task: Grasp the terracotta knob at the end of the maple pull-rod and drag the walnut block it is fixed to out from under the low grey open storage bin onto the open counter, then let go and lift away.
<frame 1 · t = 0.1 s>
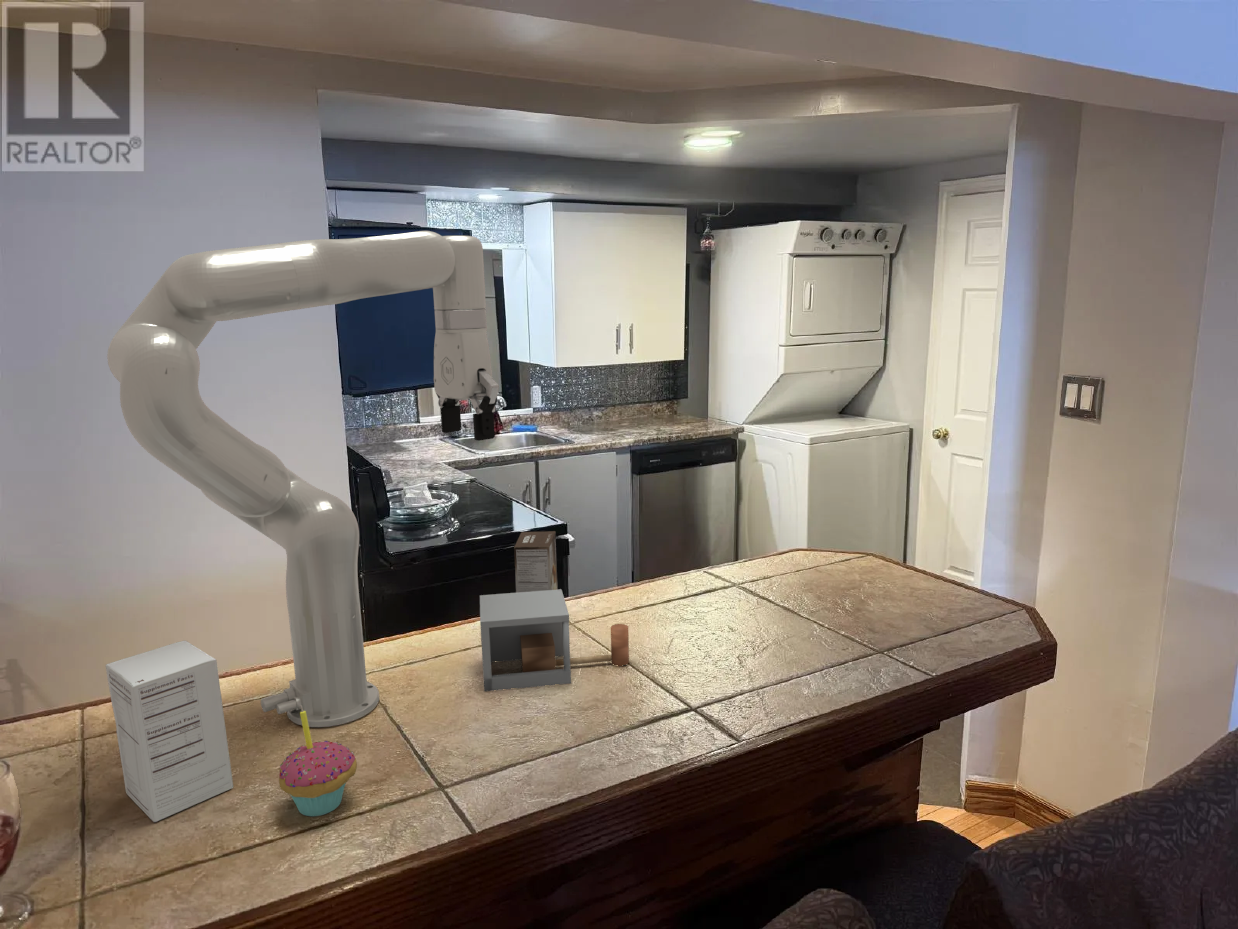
hand: (467, 435, 127), 37 cm above the counter, tool pointing down, fingers open, 9 cm apart
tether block: (538, 670, 130), on the counter
cupcake: (321, 805, 97), on the counter
supplement box: (180, 792, 100), on the counter
grey open storage bin: (525, 671, 130), on the counter
coffee box: (538, 625, 148), on the counter
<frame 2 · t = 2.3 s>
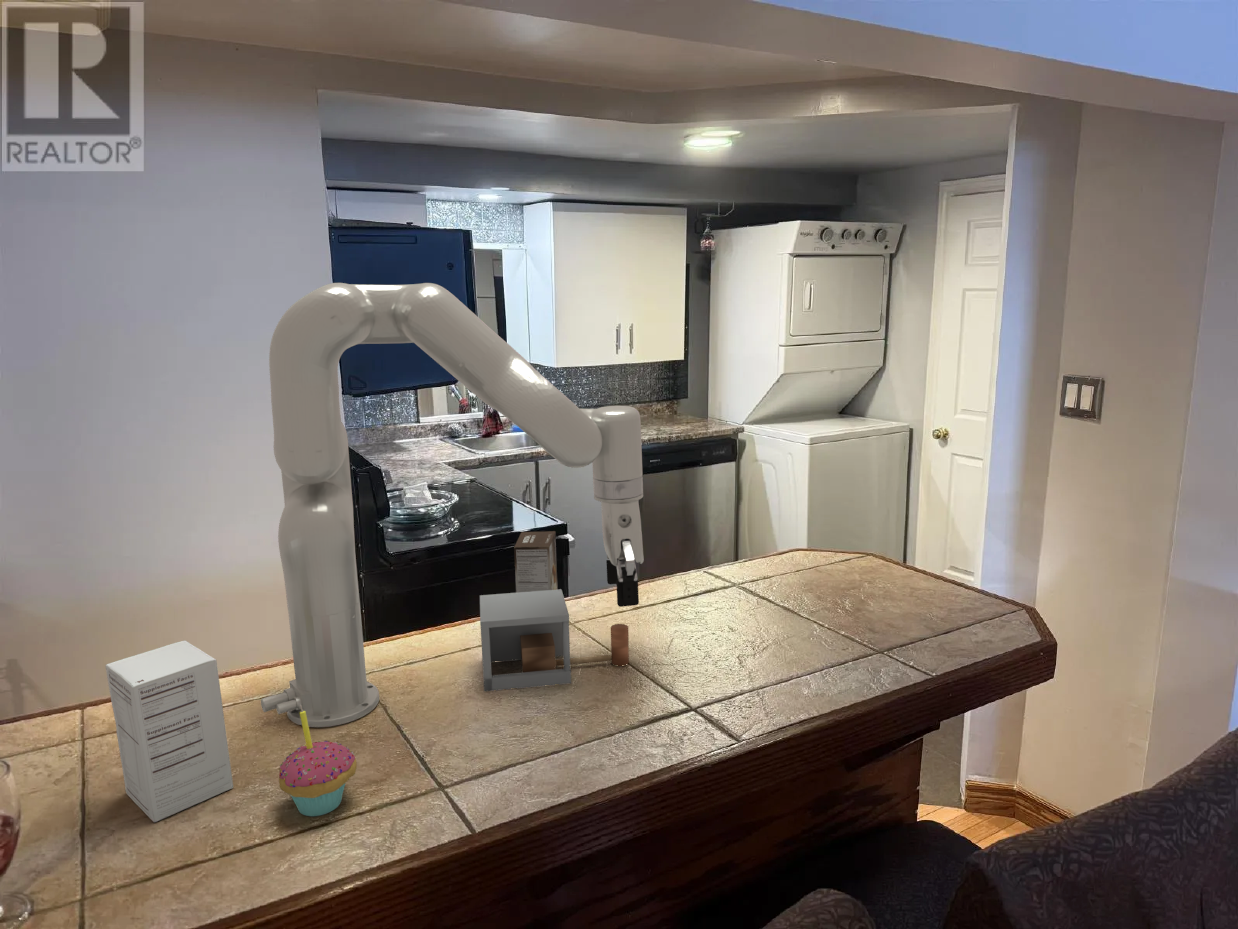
hand: (622, 593, 130), 12 cm above the counter, tool pointing down, fingers open, 9 cm apart
nothing on the counter moved.
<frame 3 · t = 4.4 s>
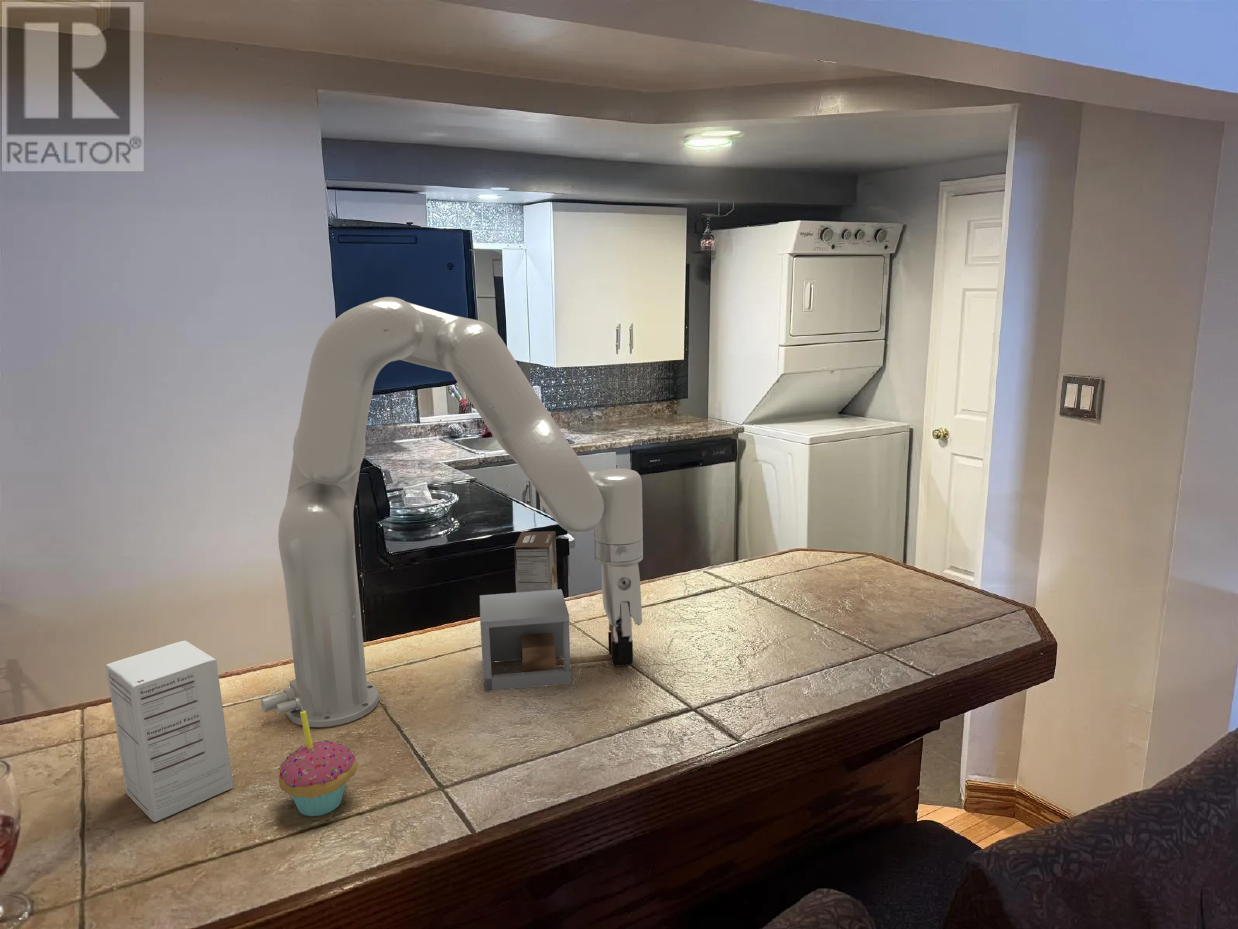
hand: (620, 658, 132), 1 cm above the counter, tool pointing down, fingers closed on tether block, 2 cm apart
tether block: (538, 670, 130), on the counter, touching gripper
everything else where it was.
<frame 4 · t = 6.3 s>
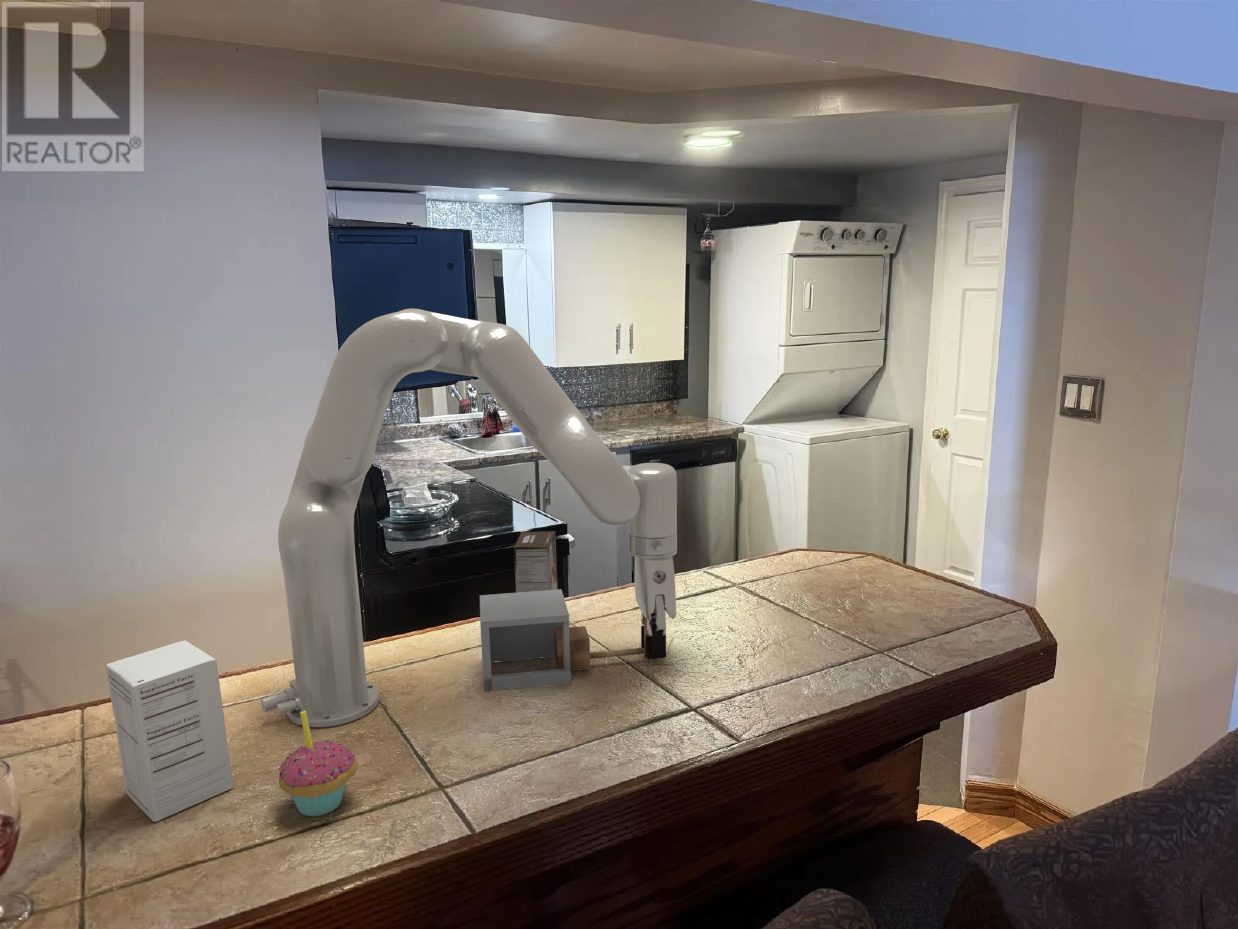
hand: (653, 652, 133), 1 cm above the counter, tool pointing down, fingers closed on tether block, 2 cm apart
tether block: (572, 663, 131), point 1 cm above the counter, touching gripper
everything else where it was.
when the fingers open (1 cm above the counter, at t = 8.5 s): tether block stays where it is, on the counter.
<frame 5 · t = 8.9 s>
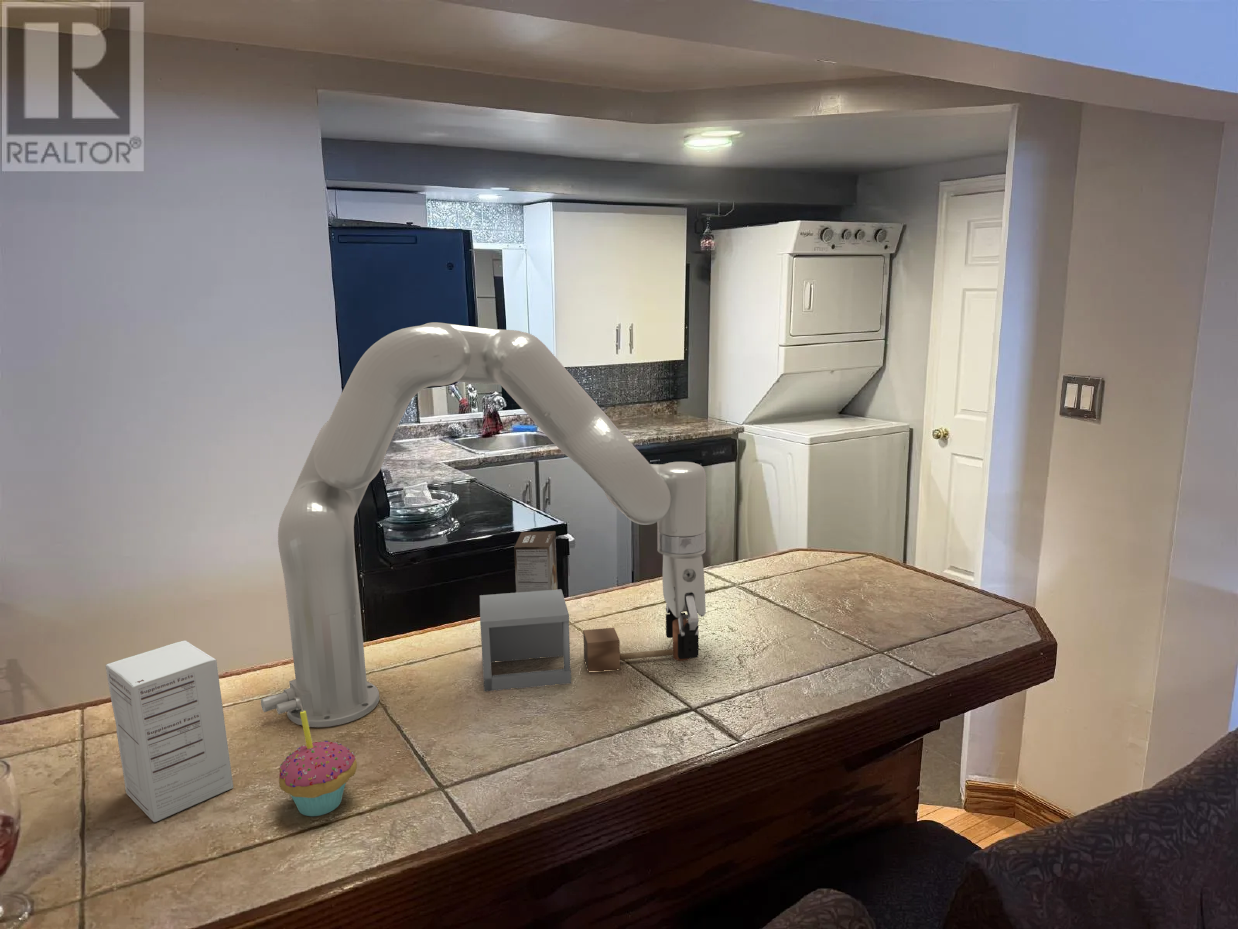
hand: (681, 646, 133), 2 cm above the counter, tool pointing down, fingers open, 7 cm apart
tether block: (601, 664, 132), on the counter
everything else where it was.
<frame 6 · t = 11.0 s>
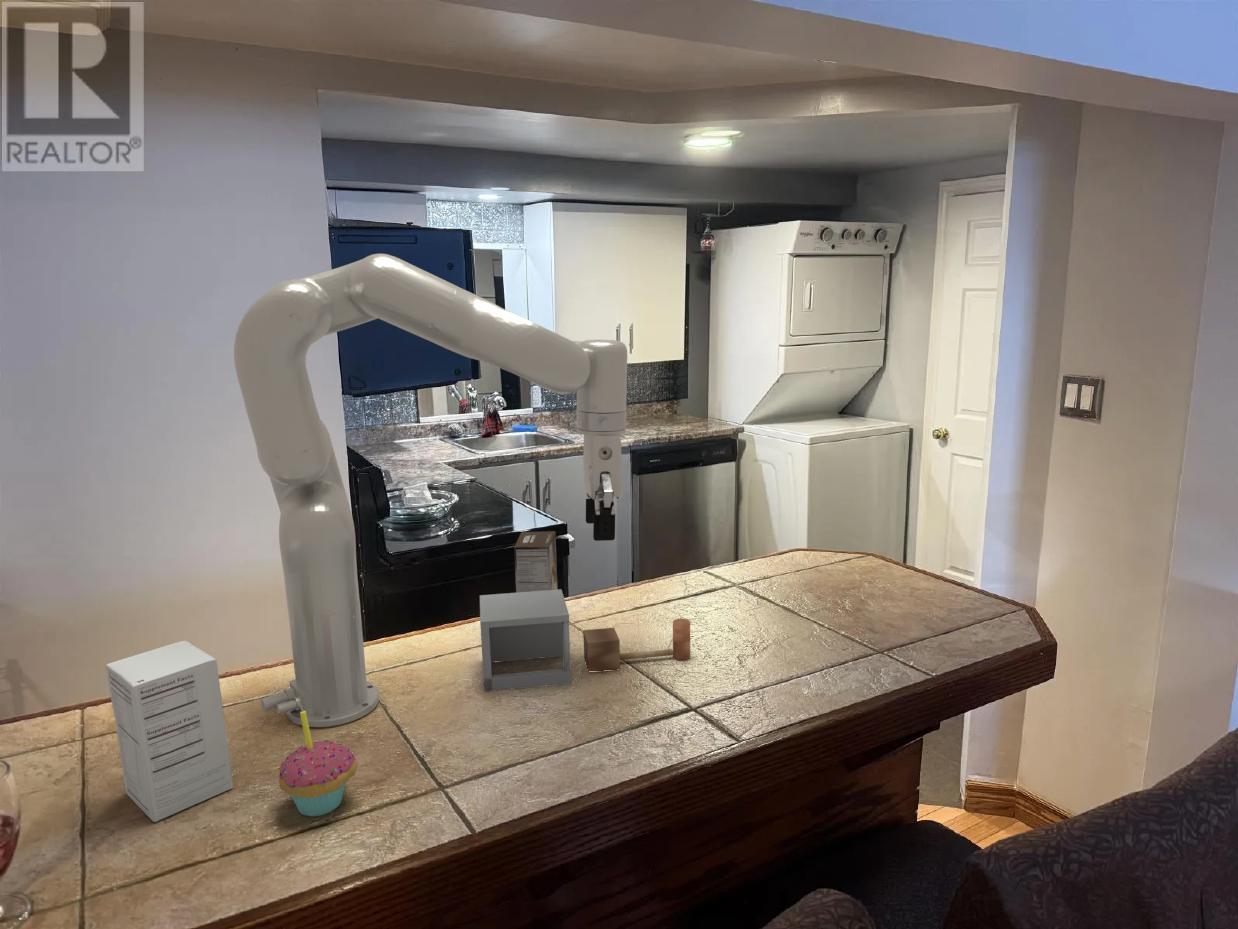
hand: (599, 531, 129), 21 cm above the counter, tool pointing down, fingers open, 9 cm apart
nothing on the counter moved.
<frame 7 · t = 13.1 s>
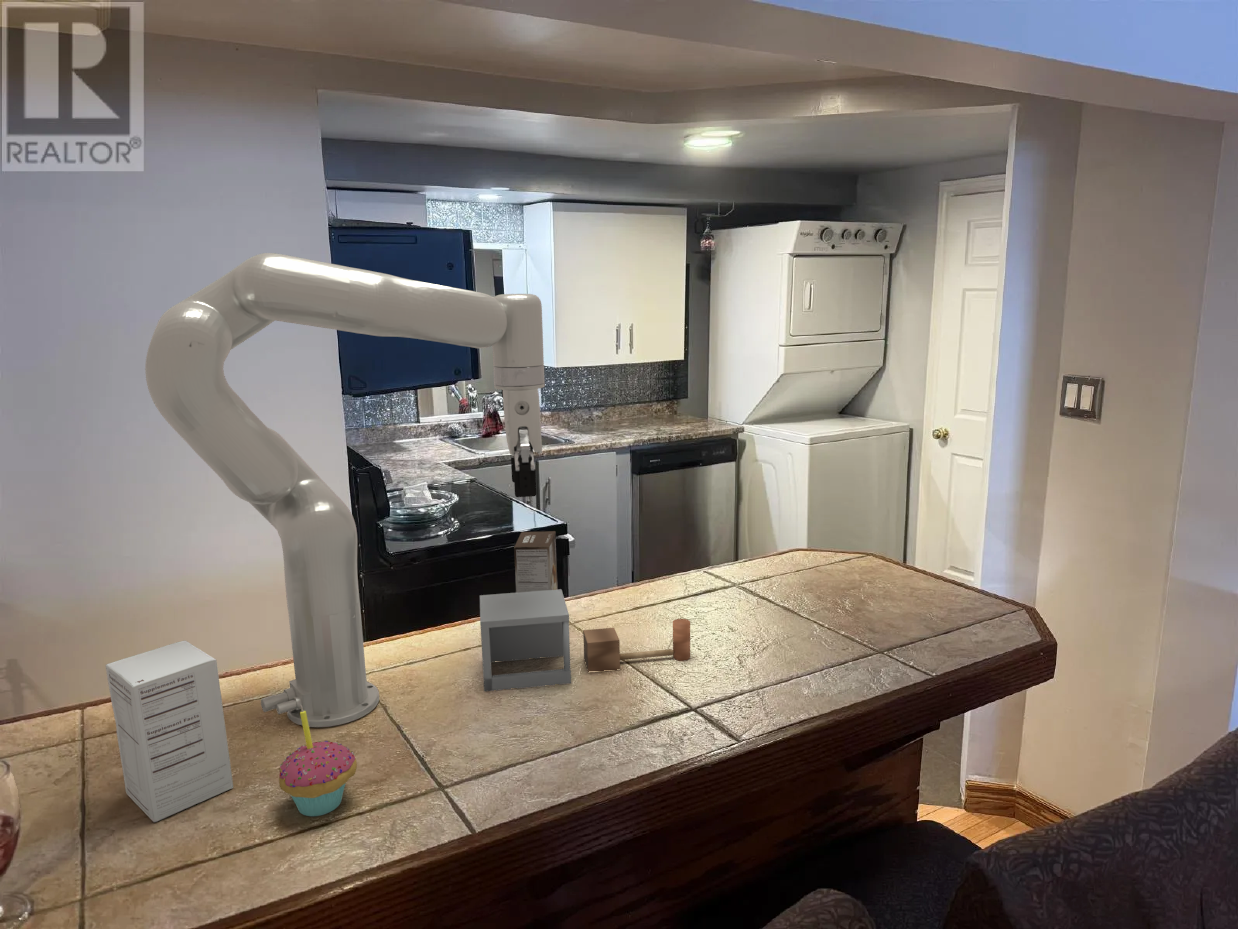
hand: (523, 488, 128), 28 cm above the counter, tool pointing down, fingers open, 9 cm apart
nothing on the counter moved.
at the end: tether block inside the target area (1.6 cm from its centre), on the counter; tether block moved 10.0 cm from its start; the gripper is holding nothing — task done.
